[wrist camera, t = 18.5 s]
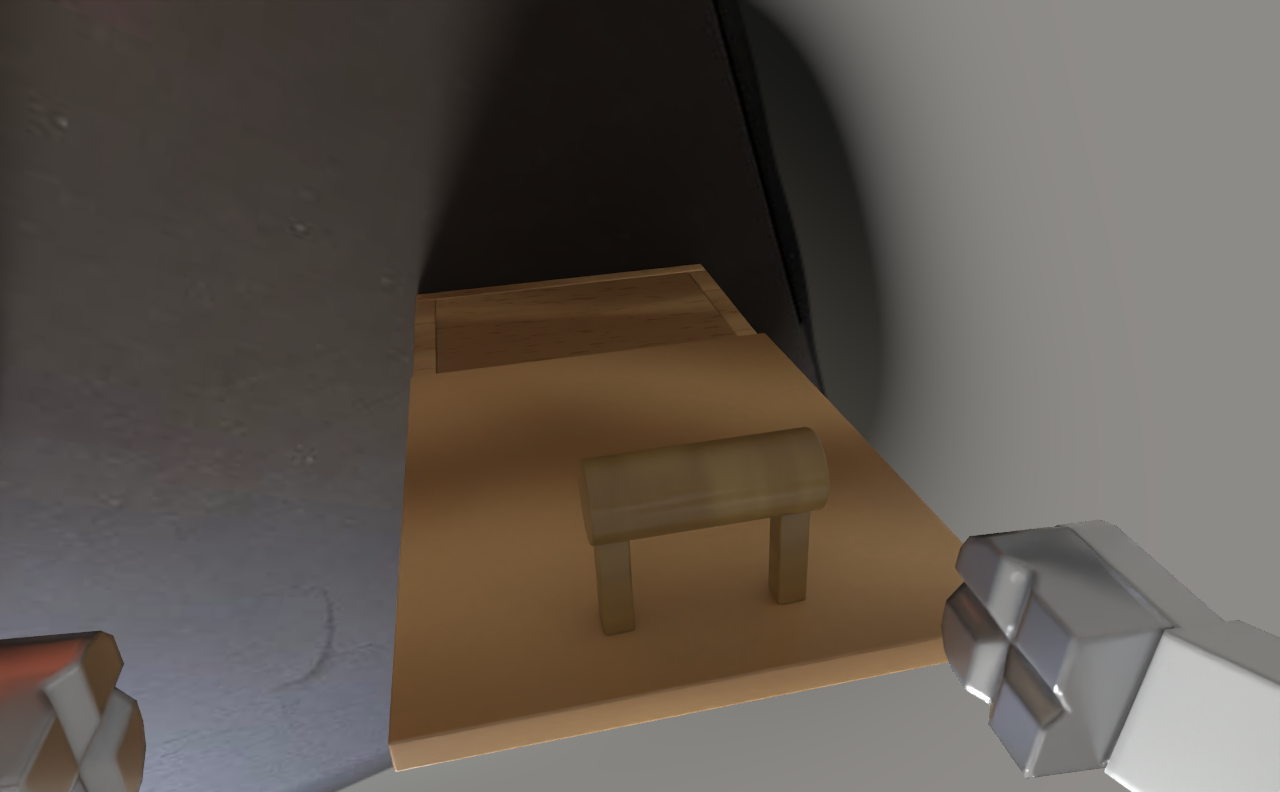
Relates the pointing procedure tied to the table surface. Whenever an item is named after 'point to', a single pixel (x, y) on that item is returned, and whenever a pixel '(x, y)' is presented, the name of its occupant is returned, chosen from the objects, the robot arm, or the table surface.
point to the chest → (570, 318)
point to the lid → (645, 548)
